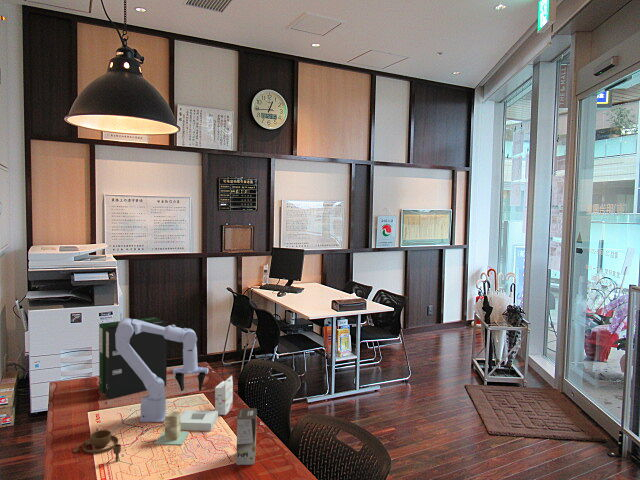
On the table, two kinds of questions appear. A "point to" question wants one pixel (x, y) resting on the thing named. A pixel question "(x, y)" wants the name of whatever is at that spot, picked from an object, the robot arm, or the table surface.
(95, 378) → the table surface
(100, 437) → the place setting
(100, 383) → the binder
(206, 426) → the pocket holder
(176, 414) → the maple peg
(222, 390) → the ink cartridge box
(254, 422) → the coffee box
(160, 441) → the rubber mat
